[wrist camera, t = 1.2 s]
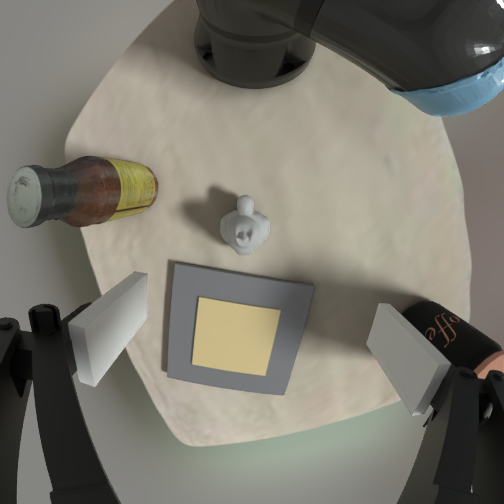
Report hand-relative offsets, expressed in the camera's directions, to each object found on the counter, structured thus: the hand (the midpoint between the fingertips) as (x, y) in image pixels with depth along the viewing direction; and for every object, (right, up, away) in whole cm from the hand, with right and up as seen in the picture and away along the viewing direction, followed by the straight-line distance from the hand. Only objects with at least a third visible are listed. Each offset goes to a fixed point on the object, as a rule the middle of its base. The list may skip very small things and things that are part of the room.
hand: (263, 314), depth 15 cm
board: (-3, -8, +21) cm, 22 cm away
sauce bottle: (-15, +11, +17) cm, 25 cm away
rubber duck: (-1, +7, +18) cm, 20 cm away
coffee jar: (+24, -9, +22) cm, 34 cm away
